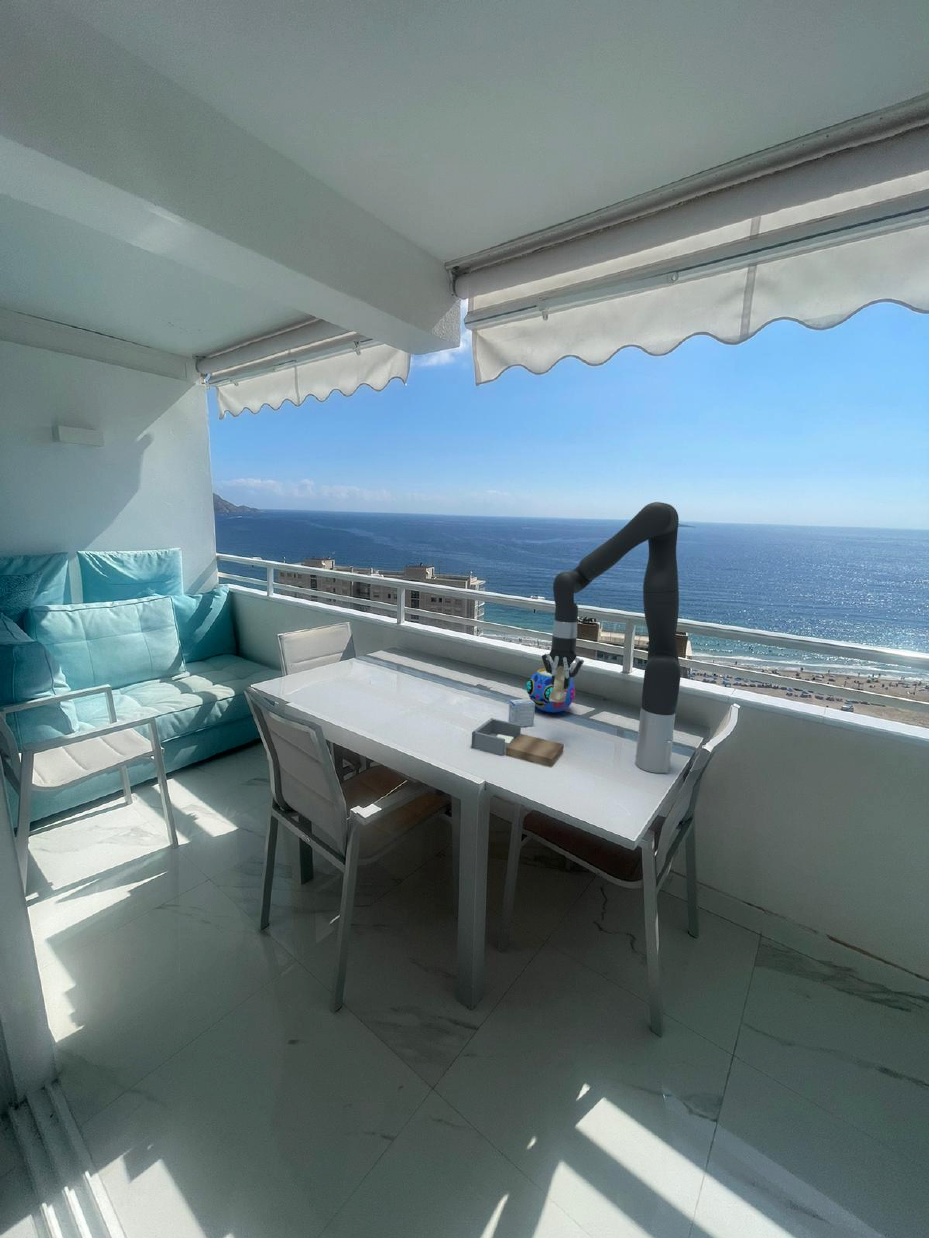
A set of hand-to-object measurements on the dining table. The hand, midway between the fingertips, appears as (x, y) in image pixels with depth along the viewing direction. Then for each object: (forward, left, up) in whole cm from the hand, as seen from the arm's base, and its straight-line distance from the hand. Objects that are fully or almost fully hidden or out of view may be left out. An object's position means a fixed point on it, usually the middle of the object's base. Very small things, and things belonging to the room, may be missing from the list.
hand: (560, 687), depth 155 cm
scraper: (0, +2, -4) cm, 5 cm away
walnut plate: (+2, +15, -17) cm, 23 cm away
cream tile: (+12, +15, -17) cm, 26 cm away
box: (+15, +15, -17) cm, 27 cm away
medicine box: (+14, -4, -18) cm, 23 cm away
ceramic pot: (+10, -24, -18) cm, 31 cm away
